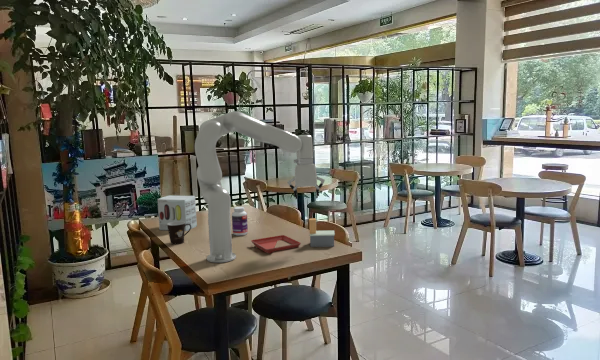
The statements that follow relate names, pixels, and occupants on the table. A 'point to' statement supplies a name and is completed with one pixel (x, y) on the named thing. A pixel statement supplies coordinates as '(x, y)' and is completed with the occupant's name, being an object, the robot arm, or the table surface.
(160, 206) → the supplement box
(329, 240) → the tub
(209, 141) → the robot arm
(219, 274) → the table surface
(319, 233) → the white tan l-shaped piece
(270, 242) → the plant saucer
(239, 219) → the pill bottle
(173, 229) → the coffee mug
